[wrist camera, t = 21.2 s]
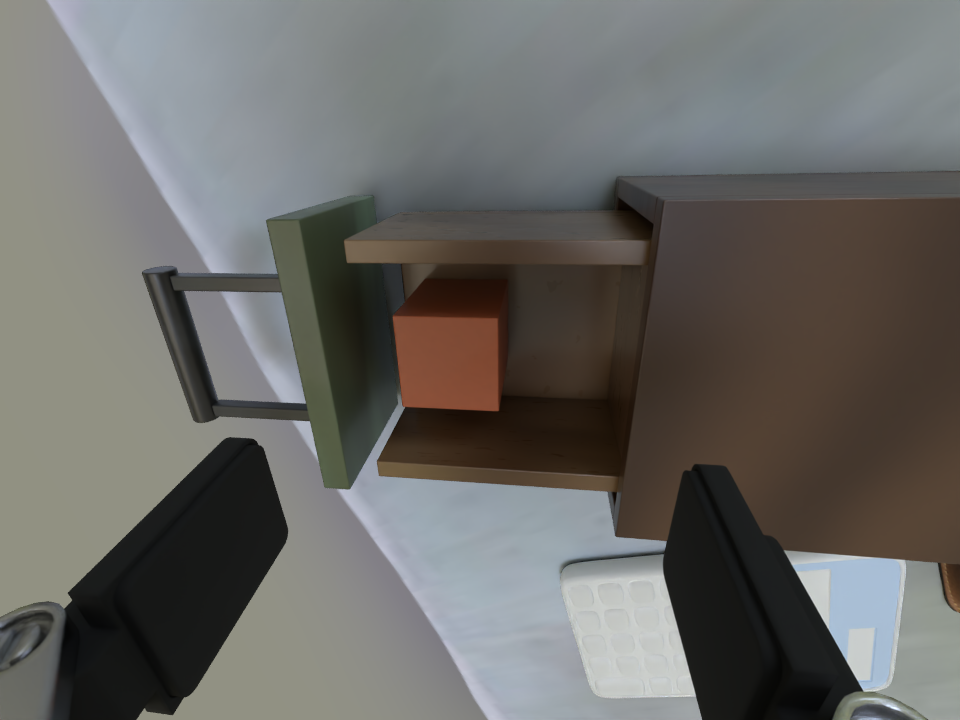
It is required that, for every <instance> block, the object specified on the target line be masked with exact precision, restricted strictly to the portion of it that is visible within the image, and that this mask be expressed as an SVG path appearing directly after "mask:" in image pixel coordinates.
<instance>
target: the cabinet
mask: <svg viewBox="0 0 960 720" xmlns="http://www.w3.org/2000/svg"><path fill="white" fill-rule="evenodd" d="M614 210H636V211H637V212H638V213H640V214H641V215H642V216H644V217H645V218H646V219H648V220H649V221H650V222H652V223H653V224H654V227H653V234H652V241H651V248H650V256H649V263H648V270H647V278H646V285H645V292H644V299H643V307H642V314H641V321H640V329H639V336H638V343H637V350H636V358H635V365H634V372H633V379H632V387H631V394H630V401H629V409H628V416H627V423H626V430H625V438H624V445H623V452H622V460H621V467H620V474H619V481H618V489H617V492H608V491H607V492H608V497H609V503H610V508H611V514H612V519H613V526H614V531H615V536H616V537H623V538H636V539H648V540H661V541H667V539H668V535H669V530H670V526H671V522H672V517H673V513H674V508H675V504H676V500H677V495H678V491H679V486H680V482H681V477H682V474H683V472H684V471H685V470H688V471H691V469H692V467H693V465H694V464H708V465H724V466H726V467H727V469H728V470H729V472H730V474H731V475H732V477H733V479H734V481H735V483H736V485H737V486H738V488H739V490H740V492H741V494H742V496H743V498H744V499H745V501H746V503H747V505H748V507H749V509H750V511H751V512H752V514H753V516H754V518H755V520H756V522H757V524H758V525H759V527H760V529H761V531H762V533H763V535H769V536H772V537H774V538H775V539H776V540H777V541H778V542H779V544H780V545H781V547H782V548H783V550H786V551H798V552H811V553H823V554H836V555H848V556H861V557H873V558H886V559H898V560H911V561H923V562H936V563H948V564H960V171H928V172H866V173H804V174H742V175H680V176H619V177H617V180H616V190H615V200H614Z"/></svg>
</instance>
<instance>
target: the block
mask: <svg viewBox="0 0 960 720" xmlns="http://www.w3.org/2000/svg"><path fill="white" fill-rule="evenodd" d="M393 325H394V334H395V343H396V352H397V361H398V369H399V378H400V387H401V396H402V405H403V407H419V408H440V409H460V410H481V411H499V407H500V401H501V395H502V389H503V383H504V377H505V372H506V366H507V360H508V280H496V279H424V280H423V282H422V283H421V284H420V285H419V286H418V287H417V288H416V290H415V291H414V292H413V293H412V294H411V295H410V297H409V298H408V299H407V300H406V301H405V302H404V303H403V305H402V306H401V307H400V308H399V309H398V310H397V312H396V313H395V314H394V315H393Z"/></svg>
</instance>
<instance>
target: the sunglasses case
mask: <svg viewBox="0 0 960 720" xmlns="http://www.w3.org/2000/svg"><path fill="white" fill-rule="evenodd" d="M938 565H939V570H940V575H941V580H942V584H943V588H944V593H945V598H946V601H947V603H948V605H949V606H950V607H951V609H953V610H954V611H956V612H959V613H960V564H948V563H938Z"/></svg>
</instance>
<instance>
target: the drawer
mask: <svg viewBox="0 0 960 720" xmlns="http://www.w3.org/2000/svg"><path fill="white" fill-rule="evenodd" d="M266 222H267V227H268V232H269V236H270V241H271V245H272V250H273V254H274V259H275V264H276V268H277V273H278V274H232V273H178V271H177V268H176V267H173V266H163V267H155V268H151V269H147V270H144V271H143V272H142V275H143V277H144V280H145V283H146V286H147V289H148V292H149V295H150V298H151V300H152V303H153V306H154V309H155V312H156V315H157V318H158V320H159V323H160V326H161V329H162V332H163V335H164V338H165V340H166V343H167V346H168V349H169V352H170V355H171V357H172V360H173V363H174V366H175V369H176V372H177V374H178V377H179V380H180V383H181V386H182V389H183V391H184V395H185V397H186V400H187V403H188V406H189V409H190V412H191V415H192V417H193V420H194V421H195V422H197V423H205V422H209V421H212V420H214V419H216V418H218V417H219V416H222V417H223V416H224V417H241V418H260V419H279V420H297V421H310V423H311V428H312V432H313V437H314V441H315V446H316V451H317V455H318V460H319V464H320V468H321V473H322V478H323V482H324V487H325V488H336V489H351V487H352V485H353V483H354V481H355V480H356V478H357V476H358V474H359V472H360V471H361V469H362V467H363V465H364V463H365V462H366V460H367V458H368V456H369V455H370V453H371V451H372V449H373V447H374V446H375V444H376V442H377V440H378V438H379V437H380V435H381V433H382V431H383V429H384V428H385V426H386V424H387V422H388V420H389V419H390V417H391V415H392V413H393V412H394V410H395V408H396V406H397V404H398V399H397V391H396V382H395V374H394V365H393V357H392V348H391V340H390V331H389V323H388V314H387V306H386V297H385V289H384V280H383V272H382V263H385V264H401V269H402V279H403V289H404V299H405V301H406V300H407V299H408V298H409V297H410V295H411V294H412V293H413V292H414V291H415V290H416V288H417V287H418V286H419V285H420V284H421V283H422V282H423V280H424V279H496V280H508V360H507V366H506V372H505V377H504V383H503V389H502V395H501V401H500V407H499V411H481V410H460V409H440V408H419V407H405V409H404V411H403V412H402V414H401V416H400V418H399V420H398V422H397V424H396V426H395V428H394V430H393V432H392V433H391V435H390V437H389V439H388V441H387V443H386V445H385V447H384V449H383V451H382V453H381V455H380V456H379V458H378V460H377V466H378V473H379V476H387V477H402V478H417V479H431V480H446V481H461V482H476V483H490V484H505V485H520V486H534V487H549V488H564V489H578V490H593V491H608V492H617V489H618V481H619V474H620V467H621V460H622V452H623V445H624V438H625V430H626V423H627V416H628V409H629V401H630V394H631V387H632V379H633V372H634V365H635V358H636V350H637V343H638V336H639V329H640V321H641V314H642V307H643V299H644V292H645V285H646V278H647V270H648V263H649V256H650V248H651V241H652V234H653V227H654V224H653V223H652V222H650V221H649V220H648V219H646V218H645V217H644V216H642V215H641V214H640V213H638V212H637V211H636V210H588V211H447V212H400V213H398V214H395V215H393V216H391V217H389V218H387V219H385V220H383V221H381V222H379V223H377V221H376V212H375V204H374V197H373V196H348V197H344V198H341V199H337V200H334V201H330V202H327V203H323V204H320V205H316V206H312V207H309V208H305V209H302V210H298V211H295V212H291V213H288V214H284V215H281V216H277V217H274V218H270V219H267V220H266ZM184 291H230V292H282V295H283V300H284V305H285V309H286V314H287V318H288V323H289V327H290V332H291V337H292V341H293V346H294V350H295V355H296V359H297V364H298V368H299V373H300V378H301V382H302V387H303V391H304V396H305V400H306V404H300V403H280V402H258V401H238V400H218V398H217V394H216V391H215V388H214V385H213V382H212V378H211V375H210V372H209V369H208V366H207V363H206V359H205V356H204V353H203V350H202V347H201V343H200V340H199V337H198V334H197V331H196V328H195V324H194V321H193V318H192V315H191V312H190V309H189V305H188V302H187V299H186V296H185V293H184Z"/></svg>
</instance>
